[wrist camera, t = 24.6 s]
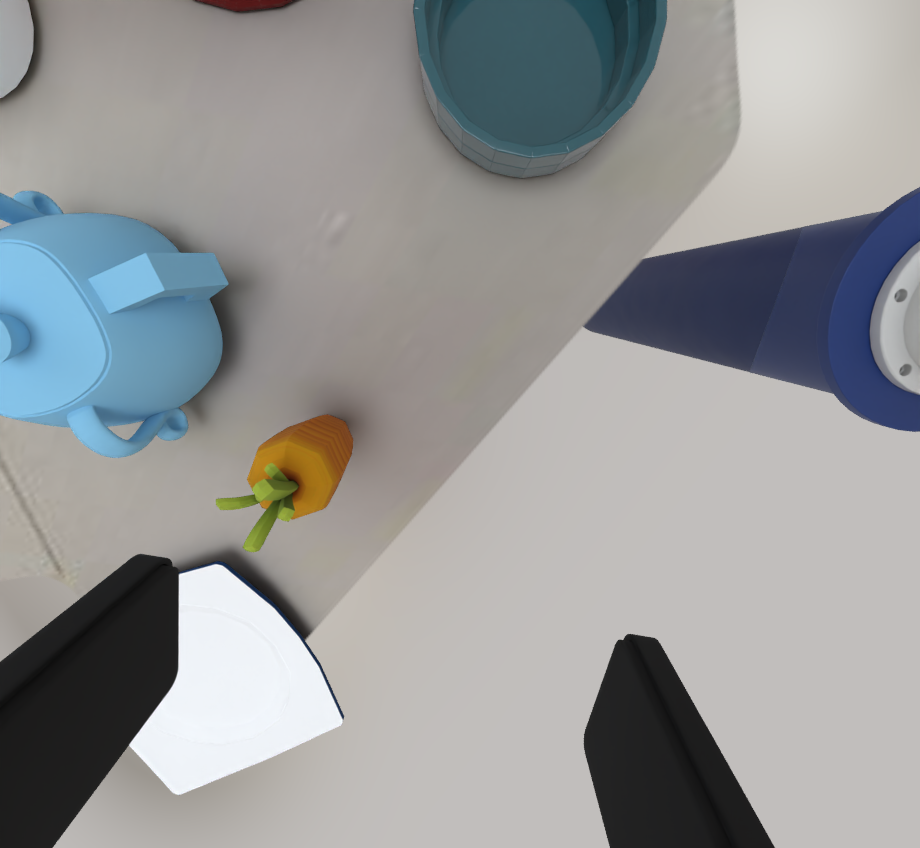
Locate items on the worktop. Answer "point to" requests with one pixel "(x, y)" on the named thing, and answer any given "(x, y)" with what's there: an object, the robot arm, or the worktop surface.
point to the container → (246, 4)
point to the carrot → (295, 473)
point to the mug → (14, 43)
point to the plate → (233, 685)
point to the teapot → (102, 324)
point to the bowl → (534, 75)
